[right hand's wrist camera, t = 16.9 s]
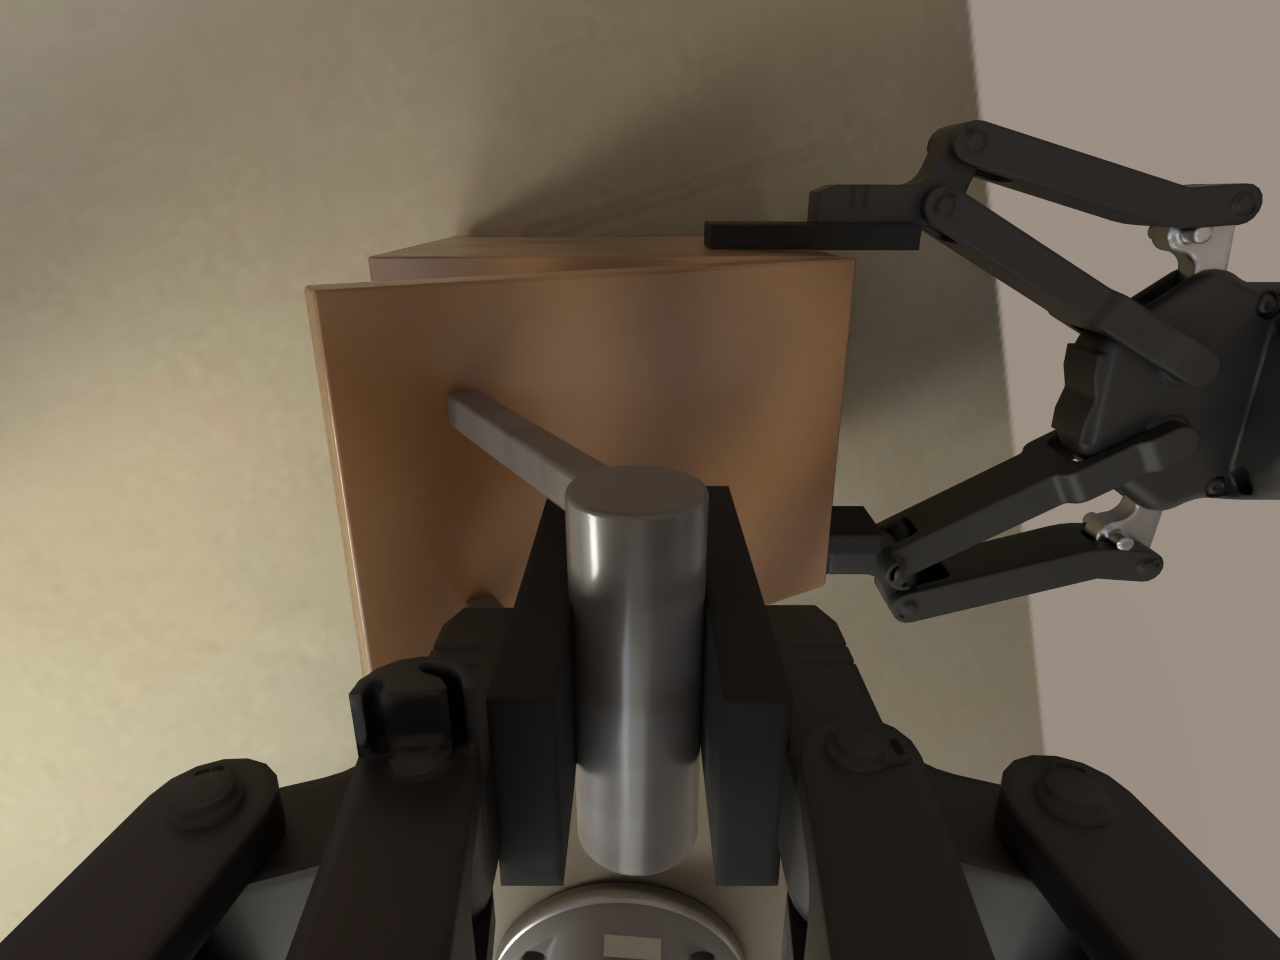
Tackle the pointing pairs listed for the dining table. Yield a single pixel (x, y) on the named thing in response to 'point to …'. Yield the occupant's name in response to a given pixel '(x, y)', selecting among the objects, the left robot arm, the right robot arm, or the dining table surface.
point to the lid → (587, 481)
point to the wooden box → (557, 255)
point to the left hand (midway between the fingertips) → (702, 392)
